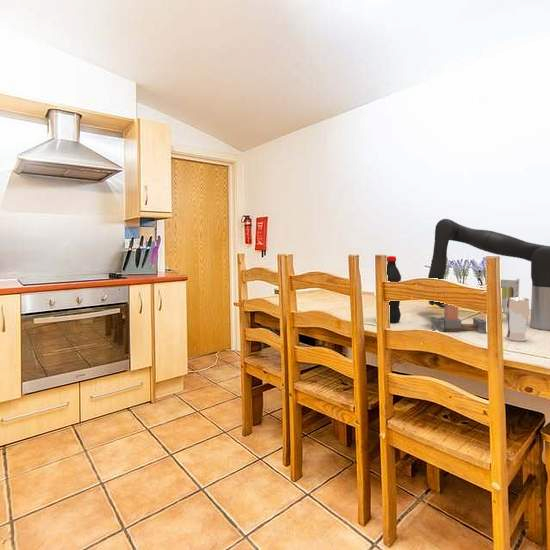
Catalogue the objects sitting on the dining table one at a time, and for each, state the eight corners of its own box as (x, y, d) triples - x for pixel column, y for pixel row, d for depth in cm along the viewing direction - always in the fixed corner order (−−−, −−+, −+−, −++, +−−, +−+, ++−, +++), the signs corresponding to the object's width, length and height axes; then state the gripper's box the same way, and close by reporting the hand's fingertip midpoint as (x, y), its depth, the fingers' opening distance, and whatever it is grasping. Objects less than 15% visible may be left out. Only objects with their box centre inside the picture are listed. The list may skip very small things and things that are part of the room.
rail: (480, 328, 146) (481, 316, 146) (487, 333, 140) (488, 320, 139) (431, 327, 150) (431, 315, 149) (436, 332, 143) (436, 319, 143)
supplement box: (492, 312, 179) (493, 278, 178) (496, 309, 186) (497, 277, 184) (515, 314, 173) (516, 279, 171) (518, 311, 179) (519, 278, 178)
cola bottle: (377, 321, 164) (377, 256, 161) (387, 318, 169) (388, 255, 166) (394, 324, 157) (394, 256, 154) (404, 321, 163) (405, 255, 160)
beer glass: (504, 340, 130) (506, 299, 128) (504, 335, 136) (506, 296, 134) (527, 342, 126) (529, 300, 125) (527, 338, 132) (529, 297, 130)
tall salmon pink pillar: (456, 324, 148) (457, 283, 146) (461, 328, 141) (462, 285, 140) (440, 324, 149) (441, 283, 147) (445, 328, 143) (446, 285, 141)
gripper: (424, 289, 159) (433, 294, 144) (459, 289, 157) (472, 295, 141) (424, 306, 160) (433, 313, 144) (458, 306, 158) (471, 313, 142)
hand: (452, 304), depth 143 cm, fingers open, 8 cm apart
